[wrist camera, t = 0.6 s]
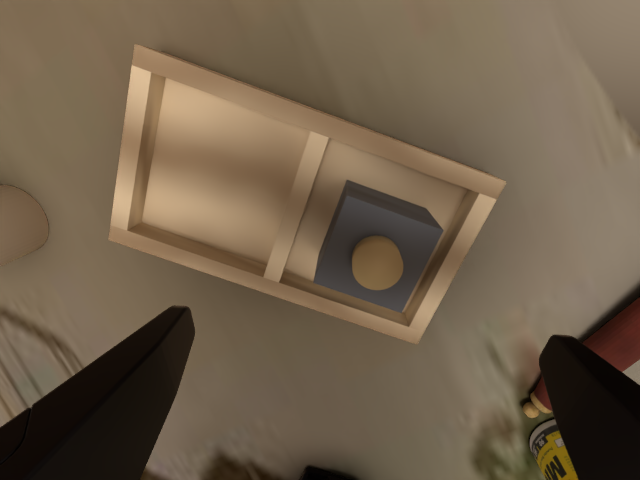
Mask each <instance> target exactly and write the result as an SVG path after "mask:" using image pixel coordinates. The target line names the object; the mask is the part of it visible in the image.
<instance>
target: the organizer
mask: <svg viewBox="0 0 640 480" xmlns="http://www.w3.org/2000/svg"><path fill="white" fill-rule="evenodd" d="M505 184H506V182H505V181H503V180H501V179H499V178H497V177H495V176H493V175H491V174H488V173H486V172H483V171H480V170H478V169H475V168H472V167H470V166H467V165H464V164H462V163H459V162H456V161H454V160H451V159H448V158H446V157H443V156H440V155H437V154H435V153H432V152H429V151H427V150H424V149H421V148H419V147H416V146H413V145H411V144H408V143H405V142H403V141H400V140H397V139H395V138H392V137H389V136H386V135H384V134H381V133H378V132H376V131H373V130H370V129H368V128H365V127H362V126H360V125H357V124H354V123H352V122H349V121H346V120H343V119H341V118H338V117H335V116H333V115H330V114H327V113H325V112H322V111H319V110H317V109H314V108H311V107H309V106H306V105H303V104H300V103H298V102H295V101H292V100H290V99H287V98H284V97H282V96H279V95H276V94H274V93H271V92H268V91H266V90H263V89H260V88H257V87H255V86H252V85H249V84H247V83H244V82H241V81H239V80H236V79H233V78H231V77H228V76H225V75H223V74H220V73H217V72H215V71H212V70H209V69H206V68H204V67H201V66H198V65H196V64H193V63H190V62H188V61H185V60H182V59H180V58H177V57H174V56H172V55H169V54H166V53H163V52H161V51H157V50H154V49H151V48H147V47H144V46H141V45H137V44H135V46H134V53H133V61H132V68H131V76H130V83H129V91H128V98H127V106H126V113H125V121H124V128H123V136H122V143H121V150H120V158H119V165H118V173H117V180H116V188H115V195H114V203H113V210H112V218H111V225H110V233H109V240H111V241H113V242H116V243H119V244H122V245H125V246H128V247H131V248H134V249H137V250H140V251H143V252H146V253H149V254H152V255H155V256H158V257H161V258H163V259H166V260H169V261H172V262H175V263H178V264H181V265H184V266H187V267H190V268H193V269H196V270H199V271H202V272H205V273H208V274H211V275H213V276H216V277H219V278H222V279H225V280H228V281H231V282H234V283H237V284H240V285H243V286H246V287H249V288H252V289H255V290H258V291H261V292H263V293H266V294H269V295H272V296H275V297H278V298H281V299H284V300H287V301H290V302H293V303H296V304H299V305H302V306H305V307H308V308H311V309H314V310H316V311H319V312H322V313H325V314H328V315H331V316H334V317H337V318H340V319H343V320H346V321H349V322H352V323H355V324H358V325H361V326H364V327H366V328H369V329H372V330H375V331H378V332H381V333H384V334H387V335H390V336H393V337H396V338H399V339H402V340H405V341H408V342H411V343H414V344H416V345H417V344H418V342H419V340H420V338H421V337H422V335H423V333H424V331H425V329H426V328H427V326H428V324H429V322H430V320H431V318H432V317H433V315H434V313H435V311H436V309H437V308H438V306H439V304H440V302H441V300H442V298H443V297H444V295H445V293H446V291H447V289H448V288H449V286H450V284H451V282H452V280H453V278H454V277H455V275H456V273H457V271H458V269H459V268H460V266H461V264H462V262H463V260H464V259H465V257H466V255H467V253H468V251H469V249H470V248H471V246H472V244H473V242H474V240H475V239H476V237H477V235H478V233H479V231H480V229H481V228H482V226H483V224H484V222H485V220H486V219H487V217H488V215H489V213H490V211H491V209H492V208H493V206H494V204H495V202H496V200H497V199H498V197H499V195H500V193H501V191H502V189H503V188H504V186H505Z"/></svg>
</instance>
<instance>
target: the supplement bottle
mask: <svg viewBox="0 0 640 480" xmlns="http://www.w3.org/2000/svg"><path fill="white" fill-rule="evenodd" d="M530 449H531V451H532V453H533V455H534V457H535V459H536V461H537V463H538V465H539V467H540V469H541V471H542V473H543V475H544V476H545V478H546V480H578V477H577V475H576V472H575V470H574V467H573V465H572V462H571V460H570V458H569V455H568V453H567V450H566V448H565V445H564V443H563V440H562V438H561V435H560V432H559V430H558V427H557V424H556V421H555V419H554V420H550V421H548V422H545V423H543V424H542V425H540V426H539V427H538V428H536V429H535V431H534V432H533V433H532V435H531V438H530Z"/></svg>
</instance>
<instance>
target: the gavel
mask: <svg viewBox="0 0 640 480" xmlns="http://www.w3.org/2000/svg"><path fill="white" fill-rule="evenodd" d="M582 343H583V344H584V345H585V346H587V347H588V348H589V349H591V350H592V351H594V352H595V353H596V354H598V355H599V356H600V357H602V358H603V359H604V360H606V361H607V362H609V363H610V364H611V365H613V366H614V367H615V368H617V369H618V370H620V371H621V372H623V371H624V370H625V369H627V368H628V367H630V366H631V365H632V364H634V363H635V362H637V361H638V360H639V359H640V297H639V298H638V299H637V300H635V301H634V302H633V303H632V304H630V305H629V306H628V307H627V308H625V309H624V310H623V311H622V312H620V313H619V314H618V315H616V316H615V317H614V318H613V319H611V320H610V321H609V322H608V323H606V324H605V325H604V326H603V327H601V328H600V329H599V330H598V331H596V332H595V333H594V334H593V335H591V336H590V337H589V338H587V339H586V340H585V341H584V342H582ZM530 397H531V400H532V401H531V402H528V403H526V404H525V405H524V406H523V411H524V413H525V414H526V415H527V416H528V417H530V418H534V417H537V416H538V415H539V412H540V411H542V412H544V413H550V412H552V408H551V404H550V401H549V397H548V394H547V390H546V387H545V383H544V380H543V377H541V379H540V381H539V383H538V385H537V387H536V389H535V391H534V392H532V393H531V396H530Z"/></svg>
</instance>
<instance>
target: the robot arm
mask: <svg viewBox="0 0 640 480" xmlns="http://www.w3.org/2000/svg"><path fill="white" fill-rule="evenodd" d="M194 336H195V327H194V323H193V319H192V314H191V310H190V308H189V307H187V306H176V305H174V306H171V307H169V308H168V309H166V310H165V311H164V312H162V313H161V314H159V315H158V316H157V317H155V318H154V319H152V320H151V321H150V322H148V323H147V324H145V325H144V326H143V327H141V328H140V329H138V330H137V331H136V332H134V333H133V334H131V335H130V336H129V337H127V338H126V339H124V340H123V341H121V342H120V343H119V344H117V345H116V346H114V347H113V348H112V349H110V350H109V351H107V352H106V353H105V354H103V355H102V356H100V357H99V358H98V359H96V360H95V361H93V362H92V363H91V364H89V365H88V366H86V367H85V368H84V369H82V370H81V371H79V372H78V373H76V374H75V375H74V376H72V377H71V378H69V379H68V380H67V381H65V382H64V383H62V384H61V385H60V386H58V387H57V388H55V389H54V390H53V391H51V392H50V393H48V394H47V395H46V396H44V397H43V398H41V399H40V400H39V401H37V402H36V403H34V404H33V405H32V407H31V408H27V409H26V410H24V411H23V412H21V413H20V414H19V415H17V416H16V417H14V418H13V419H12V420H10V421H9V422H7V423H6V424H4V425H3V426H1V427H0V480H140V478H141V476H142V473H143V471H144V469H145V466H146V464H147V462H148V459H149V457H150V455H151V452H152V450H153V448H154V445H155V443H156V441H157V439H158V436H159V434H160V432H161V429H162V427H163V425H164V422H165V420H166V418H167V415H168V413H169V411H170V408H171V406H172V404H173V401H174V399H175V396H176V394H177V391H178V388H179V385H180V382H181V379H182V375H183V372H184V369H185V366H186V362H187V359H188V356H189V353H190V349H191V346H192V343H193V340H194ZM539 366H540V370H541V373H542V377H543V380H544V383H545V387H546V390H547V394H548V397H549V401H550V404H551V408H552V411H553V415H554V418H555V421H556V424H557V427H558V430H559V432H560V435H561V438H562V440H563V443H564V445H565V448H566V450H567V453H568V455H569V458H570V460H571V462H572V465H573V467H574V470H575V472H576V475H577V477H578V480H640V385H639V384H637V383H636V382H635V381H633V380H632V379H630V378H629V377H628V376H626V375H625V374H624V373H622V372H621V371H620V370H618V369H617V368H615V367H614V366H613V365H611V364H610V363H609V362H607V361H606V360H604V359H603V358H602V357H600V356H599V355H598V354H596V353H595V352H594V351H592V350H591V349H589V348H588V347H587V346H585V345H584V344H583V343H581V342H580V341H578V340H577V339H576V338H574V337H572V336H569V335H553V336H551V337H550V338H549V340H548V342H547V344H546V346H545V347H544V349H543V351H542V353H541V355H540V358H539ZM300 480H350V479H347V478H344V477H341V476H338V475H334V474H331V473H328V472H325V471H322V470H319V469H315V468H312V467H307V468H306V469H305V470H304V472H303V474H302V476H301V478H300Z"/></svg>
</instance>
